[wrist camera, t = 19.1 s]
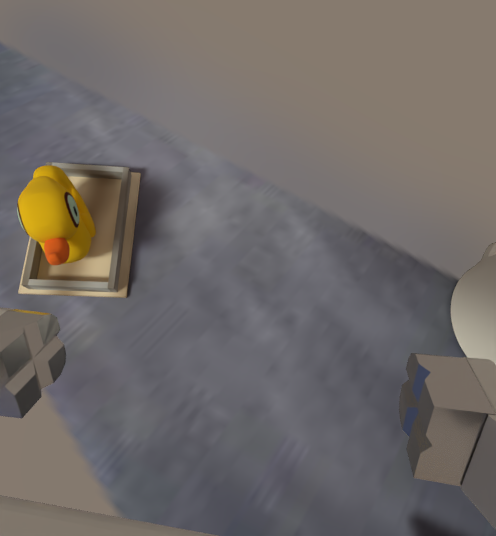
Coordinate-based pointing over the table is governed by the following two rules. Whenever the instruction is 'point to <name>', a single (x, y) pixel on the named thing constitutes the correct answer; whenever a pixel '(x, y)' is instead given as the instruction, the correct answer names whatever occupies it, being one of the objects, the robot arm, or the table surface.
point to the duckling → (56, 216)
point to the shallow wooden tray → (102, 244)
